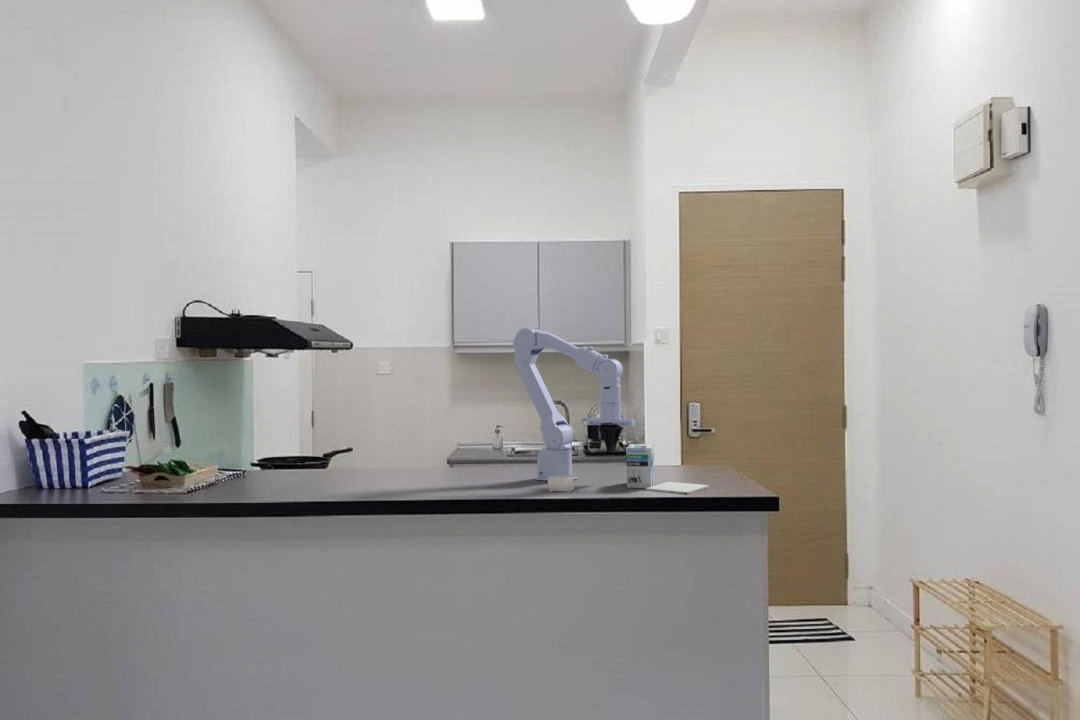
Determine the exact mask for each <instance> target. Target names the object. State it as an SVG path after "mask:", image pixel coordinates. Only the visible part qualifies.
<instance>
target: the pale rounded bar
mask: <svg viewBox="0 0 1080 720" xmlns="http://www.w3.org/2000/svg"><path fill="white" fill-rule="evenodd" d="M574 477H575V476H574V475H572V476H569V475H555V476H549V477H548V481H547V491H548V490H552V491H569V492H572V491H571V490H574V491H575V479H574ZM552 491H551V492H552Z"/></svg>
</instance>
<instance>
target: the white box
mask: <svg viewBox="0 0 1080 720" xmlns="http://www.w3.org/2000/svg"><path fill="white" fill-rule="evenodd" d="M704 488H705V489H707V488H710V485H709V484H697V483H689V482H688V483H687V482H674V481H666V482H663V483H659V484H656V485H653V486H652V487H649V488H645V491H648V492H649V491H650V492H661V493H670V492H673V493H672V494H681V493H687V494H686V495H689V494H688V493H690V494H693V493H696V492H698V490H699V491H702V490H704ZM701 489H702V490H701ZM695 491H696V492H695ZM692 492H693V493H692Z"/></svg>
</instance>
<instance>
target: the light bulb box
mask: <svg viewBox="0 0 1080 720" xmlns="http://www.w3.org/2000/svg"><path fill="white" fill-rule="evenodd" d="M625 451H626V456H625V457H626V488H628V489H629V488H630V489H646V488H649V487H652V486H654V484H655V446H654V444H646V443H641V444H640V443H630V444H629V445H628V446H627V447H626V449H625Z"/></svg>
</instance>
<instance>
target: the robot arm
mask: <svg viewBox="0 0 1080 720" xmlns="http://www.w3.org/2000/svg"><path fill="white" fill-rule="evenodd" d="M512 345H513V347H514V366H515V368H516V370H517V373H518V374H519V376H520V379H521V381H522V382H523V385H524V387H525V389H526V391H527V392H528V395H529V397H530V400H531V401H532V403H533V406H534V408H535V410H536V412H537V414H538V416H539V418H540V425H539V428H540V430H541V433H542V442H543V443H544V445H545V447H543V448H540V449H539V450H538V453H537V462H536V465H537V467H536V469H537V472H536V473H537V477H536V478H535V479H536V480H537V481H546V480H547V481H546V482H548V477H549V476H555V475H569V476H573V473H572V472H573V463H572V462H573V460H572V459H573V454H572V452H573V451H572V449H573V447H572V443H573V442H574V439H575V437H576V436H575V435H576V434H575V433H576V432H575V430H574V428H573V426H572V425H571V424H569V423H568V422H567V420H566V418H565V417H564V416H563V415H562V414H561V413H559V411H558V409H557V407H556V404H555V403H554V401H553V398H552V396H551V394H550V393H549V390H548V388H547V386H546V384H545V382H544V379H543V378H542V375H541V374H540V372H539V370H538V368H537V366H536V362H537V360H538V357H539V355H540V354H541V353H542V352H543V351H544V349H552V350H554V351H557V352H559V353H560V354H563V355H565V356H568V357H570V358H573V360H574V363H575V364H576V366H579V367H581V368H582V369H584V370H586V371H587V372H588V371H589V372H590V373H592V374H594V375H597V377H598V378H599V414H600V415H599V416H600V417H587V418H586V426H600V427H598V432H600V434H601V437H602V438H603V441H604V444H605V448H606V453H615V452H616V448H617V444H618V440H619V437H620V436H621V433H622V431H623V430H624V427H626V428H627V427H629V428H633V427H634V428H635V427H636V425H637V424H636V423H637V422H636V419H635V418H634V419H631V418H622V398H621V396H622V393H621V392H622V388H621V377H622V375H623V373H624V367H623V365H622V363H621V362H620V361H619V360H618V359H616V358H609V355H608V354H603V353H602V354H601V353H600V352H598V351H596V350H595V348H594V347H593V346H591V345H590V346H589V345H588V346H582V347H577V346H575V345H574V344H572V343H570V342H569V341H567V340H564V339H563V338H561V337H559V336H557V335H556V334H554V333H552V332H549V331H545V330H544V329H541V328H527V327H526V328H525V327H523V328H520V330H518V331H517V333H516V335H515V337H514V340H513V342H512ZM577 478H578V479H579V477H578V476H574V480H577Z"/></svg>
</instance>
